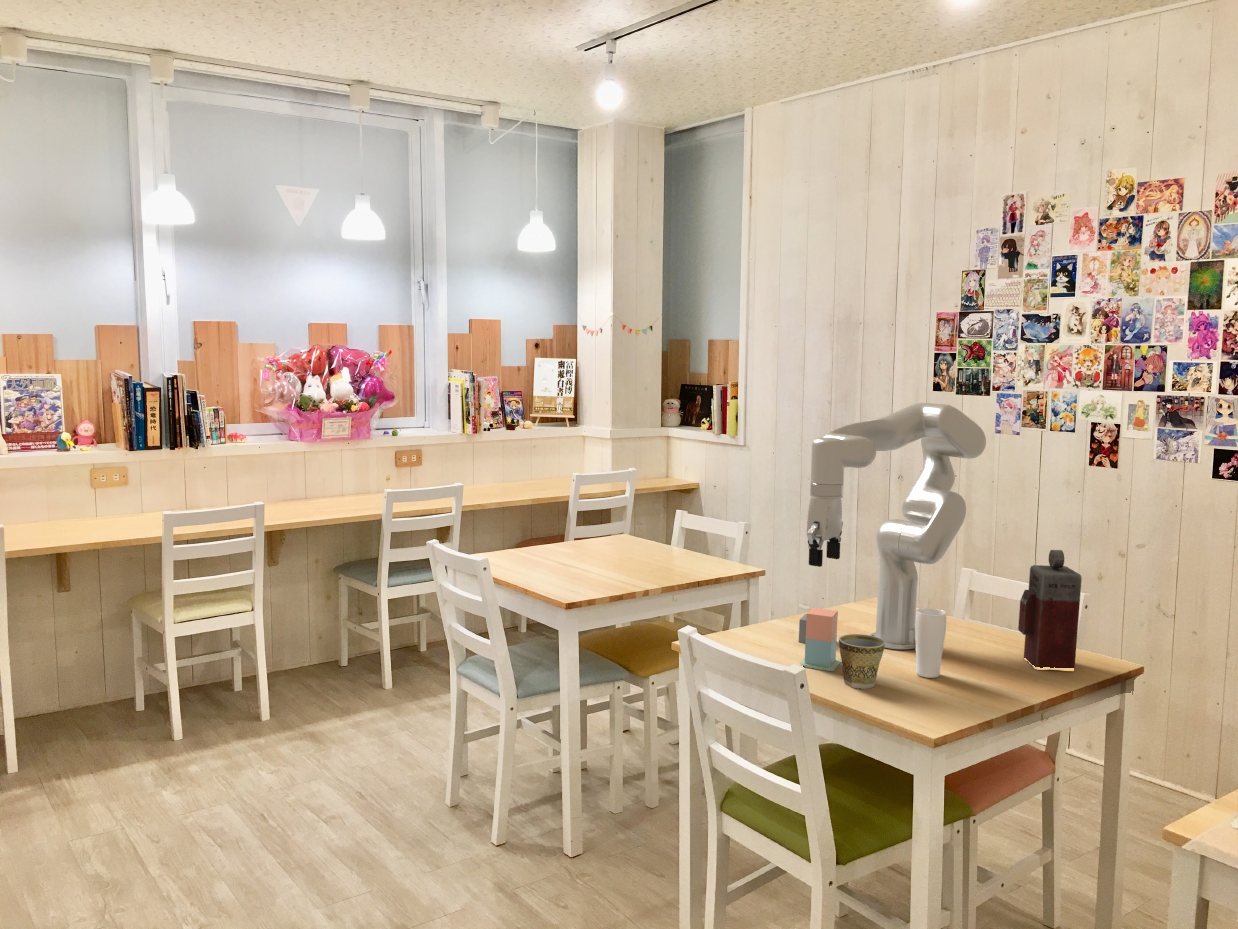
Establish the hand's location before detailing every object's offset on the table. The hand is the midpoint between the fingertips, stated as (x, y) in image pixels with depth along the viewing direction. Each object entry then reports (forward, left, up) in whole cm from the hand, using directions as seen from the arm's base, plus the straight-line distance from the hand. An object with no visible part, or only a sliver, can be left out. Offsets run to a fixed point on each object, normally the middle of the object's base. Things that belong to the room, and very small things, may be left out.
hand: (824, 562), depth 234 cm
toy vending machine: (-49, -22, -24) cm, 59 cm away
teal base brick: (-1, +3, -23) cm, 24 cm away
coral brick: (-1, +3, -17) cm, 18 cm away
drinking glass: (-25, -1, -24) cm, 35 cm away
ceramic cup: (-12, +11, -24) cm, 29 cm away
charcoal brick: (+5, -15, -24) cm, 29 cm away
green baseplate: (-1, +3, -24) cm, 24 cm away
